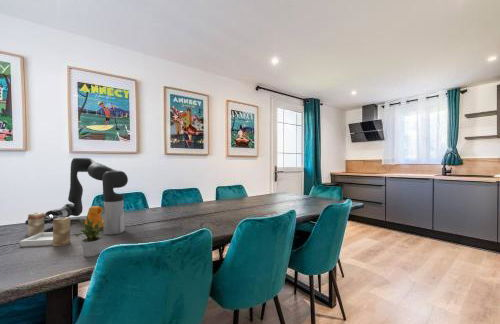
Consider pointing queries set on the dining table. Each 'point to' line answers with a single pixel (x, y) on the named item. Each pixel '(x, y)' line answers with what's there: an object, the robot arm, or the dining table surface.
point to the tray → (38, 240)
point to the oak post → (61, 231)
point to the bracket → (97, 213)
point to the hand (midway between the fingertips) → (35, 222)
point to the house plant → (91, 238)
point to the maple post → (35, 223)
